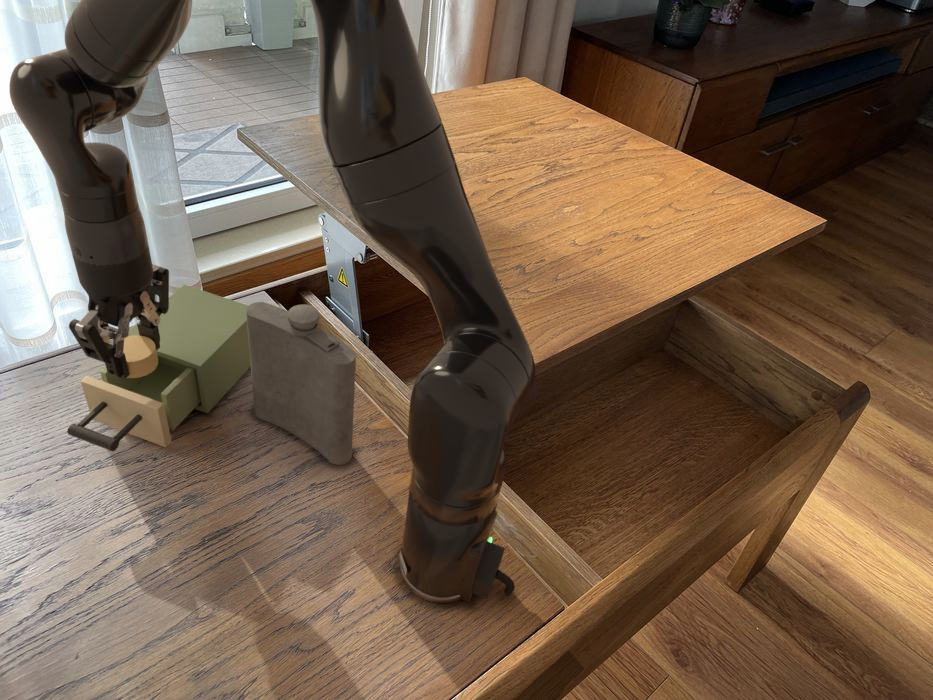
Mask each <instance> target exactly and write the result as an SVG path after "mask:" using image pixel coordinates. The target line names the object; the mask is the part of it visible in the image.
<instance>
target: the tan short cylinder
mask: <svg viewBox="0 0 933 700" xmlns="http://www.w3.org/2000/svg"><path fill="white" fill-rule="evenodd" d="M123 353H125V357H126V361H127V365H128V370H129V376H128V377H127V378H139V377H143V376H146V375H148V374H150V373H151V372H153V371H154V370H155V369H156V368H157V366H158V357H157V351H156V346H155V343H154V342H153V341H152V340H151V339H150V338H148V337H145V336H128V337H127V338H125V339H124V349H123Z"/></svg>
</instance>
